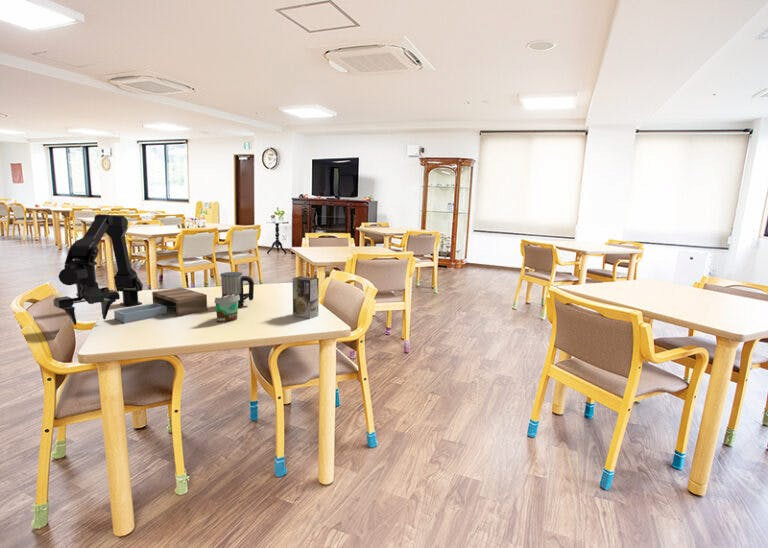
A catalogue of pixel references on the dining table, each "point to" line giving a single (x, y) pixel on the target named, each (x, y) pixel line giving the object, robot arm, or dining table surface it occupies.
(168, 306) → the seat rails
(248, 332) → the dining table surface
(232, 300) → the food container
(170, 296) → the walnut overhang
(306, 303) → the coffee box
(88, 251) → the robot arm
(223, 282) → the milk frother
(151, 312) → the blue-gray rectangular tray
